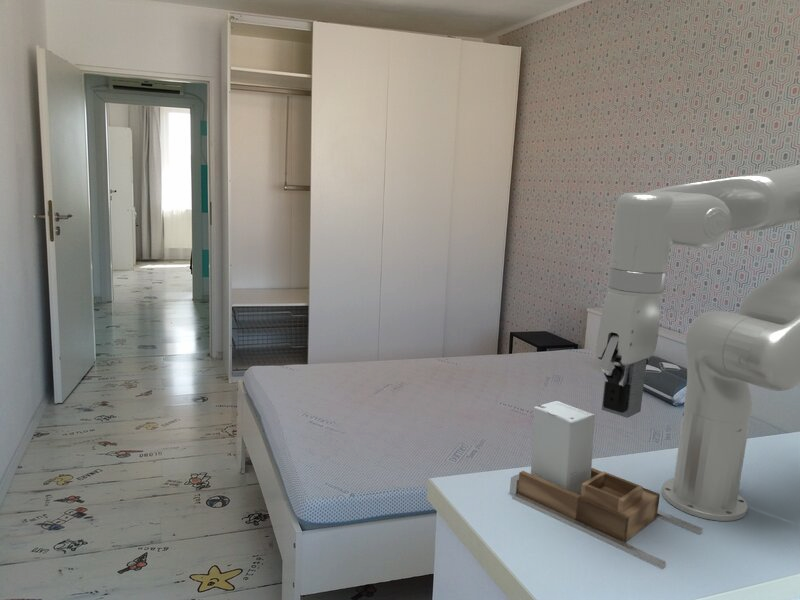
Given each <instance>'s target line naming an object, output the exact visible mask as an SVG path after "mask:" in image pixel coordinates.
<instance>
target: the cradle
mask: <svg viewBox="0 0 800 600" xmlns="http://www.w3.org/2000/svg"><path fill="white" fill-rule="evenodd" d="M518 474H519V483H518V494H520V495H522V496H524V497H526V498H529V499H531V500H533V501H535V502H537V503H539V504H542V505H544V506H546V507H548V508H550V509H553V510H555V511H557V512H559V513H561V514H563V515H566V516H568V517H570V518H572V519H574V520H576V521H579V522H581V523H583V524H585V525H587V526H589V527H592V528H594V529H596V530H598V531H600V532H602V533H605V534H607V535H609V536H611V537H613V538H615V539H618V540H620V541H622V542H624V543H626V542H628V541H629V540H630V539H632V538H633V537H635V535H637V534H638V533H639V532H641V531H642V530H643V529H644V528H646V527H647V526H648V525H650V524H651V523H652V522H654V521H655V520H657V518H658V517H657V512H658V510H659V504H660V503H659V502H660V496H661V494H660V493H658V492H655V491H653V490H651V489H647V488H645V487H644V486H642V485H639V484H637V483H635V482H632V481H630V480H628V479H627V480H626V479H624V478H622V477H620V476H617V475H614V474H611V473H609V472H606V471H601V470H598V469H596V468H594V467H591V479H589V480H588V481H586V482H584V483H582V487H581V495H579V494H576V493H574V492H572V491H569V490H567V489H565V488H562V487H560V486H558V485H555V484H553V483H551V482H548V481H546V480H544V479H541V478H539V477H537V476H534V475H532V474H531V472H527V471H526V470H525V471H524V470H521V471H519V472H518Z"/></svg>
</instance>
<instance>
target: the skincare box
mask: <svg viewBox="0 0 800 600" xmlns="http://www.w3.org/2000/svg"><path fill="white" fill-rule="evenodd" d="M532 416H533V418H532V436H531V437H532V438H531V459H530V460H531V462H530V474H532V475H534V476H537V477H539V478H541V479H544V480H546V481H548V482H551V483H553V484H555V485H558V486H560V487H562V488H565V489H567V490H569V491H572V492H574V493H576V494H579V495H581V487H582V483H584V482H586V481H588V480H589V479H591V468H593V466H592V462H593V448H594V447H593V446H594V432H595V431H594V428H595V416H596V415H595V413H591V412H589V411H585V410H583V409H580V408H577V407H574V406H572V405H570V404H567V403H563V401H562V402H561V401H559V400H555V401H551V402H547V403H544V404H541V405H537V406H534V407H533V414H532Z"/></svg>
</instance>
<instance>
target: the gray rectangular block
mask: <svg viewBox="0 0 800 600" xmlns="http://www.w3.org/2000/svg"><path fill="white" fill-rule="evenodd" d="M620 360H621V358H618V357H616V359H615V361H619V362H620ZM646 361H647V359H643V360H641V361H638V362H635V363H633V364H630V366H629V371H628V376H627V381H626V385H628V386H629V387H628V395H627V404H626V411H625V412H623V413H620V412H617V411H614V410H611V409H608V408H605V407H604V406H603V402H604V393H605V384H606V382H605V381H604V383H603V384H604V386H603V394H602V395H603V396H602V404H601V411H604V412H607V413H611V414H614V415H617V416H620V417H623V418H630V417H632V416H634V415H636V414H638V413H641V408H642V401H643V394H644V385H645V377H646V375H645V370H646V371H647V365H646ZM615 368H616V369H618V370H619V372H620V374H621V370H622V367H618V366H615Z"/></svg>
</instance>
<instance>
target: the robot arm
mask: <svg viewBox="0 0 800 600" xmlns="http://www.w3.org/2000/svg"><path fill="white" fill-rule="evenodd" d="M613 222H614V224H613V233H612V243H611V251H610V252H611V253H610V261H609V269H608V278H607V287H606V288H607V289H606V290H607V292H606V295H605V298H604V302H603V306H602V309H601V315H600V319H599V325H598V330H597V339H596V345H595V351H594V352H595V357H596V359H598V360H601V361H600V364H599V368H600V369H599V370H601V372H603V374H604V384H605V382H606V384H605V393H604V392H603V393H604V402H603V401H602V402H603V406H604V407H605V408H608V409H611V410H614V411H617V412H620V413H623V412H625V411H626V404H627V395H628V387H629V386H628V385H626V381H627V376H628V371H629V366H630V364H633V363H635V362H638V361H641V360H643V359H647V361H646V366H647V365H648V363H649V359H650V358H651V357H652V356H653V355H654V354H655V353H656V349H657V344H658V338H659V331H660V330H659V328H660V320H661V319H660V314H661V297H663V296H665V291H666V290H665V289H666V281H667V272H668V265H669V257H670V251H671V250H670V249H671V248H670V247H671V246H677V247H685V248H693V249H705V248H708V247H712V246H714V245H716V244H718V243H720V242H721V241H722V240H723V239H724V238H725V237H726V236H727V235H728V232H758V231H765V230H768V229H771V228H776V227H780V226H783V225H787V224H791V223H795V222H798V225H797V228H796V229H797V230H796V233H795V234H796V236H795V241H794V242H795V243H794V247H793V253H792V258H791V261H790V262H789V263H788V265H786V266H785V267H784V268H783V269H781V270H779V271H778V272H776V273H775V274H774V275H772V276H770V277H769V278H768V279H766V280H765V281H764V282H762V283H761V284H759V285H758V286H756V287H755V288H754V289H752V290H751V291H750V292H748V294H747V295H746V296H745V297H744V298H743V300H742V301H741V303H740V305H739V308H738V313H736V312H734V311H733V312H732V311H726V310H710V311H707V312H703V313H701V314H699V315H698V316H697V317H695V319H693V321H692V322H691V323H690V325H689V326H688V329H687V332H686V335H685V353H686V354H685V355H686V368H687V369H686V370H687V371H686V372H687V373H686V376H687V377H686V378H687V379H686V389H685V396H684V402H683V403H684V405H683V411H682V417H681V418H682V419H681V426H680V433H679V440H678V441H679V442H678V446H677V456H676V463H675V468H674V469H675V470H674V476H673V478H671V479H668V480H667V481H664V483H663V485H662V488H661V489H662V490H661V493H662V497H663V498H664V499H665V500H666V502H668V503H669V504H670V505H671V506H673V507H674V508H675V509H678V510H680V511H682V512H683V513H686V514H688V515H691V516H695V517H697V518H700V519H701V518H702V519H704V520H710V521H719V522H732V521H737V520H739V519H742V518H743V517H745V516H746V515H747V512H748V502H747V500H745V498H744V497H743V496H741V494H739V491H740V484H741V477H742V471H743V466H744V459H745V452H746V447H747V446H746V445H747V442H748V434H749V428H750V422H751V417H752V416H751V415H752V411H753V410H752V409H753V402H752V400H753V399H752V393H751V391H750V386H749V384H751V385H753V386H755V387H756V386H757V387H758V388H762V389H766V390H769V391H775V392H784V391H789V390H791V389H793V388H795V387H797V386H798V385H800V164H796V165H792V166H787V167H783V168H778V169H774V170H773V169H772V170H769V171H764V172H758V173H753V174H747V175H738V176H733V177H725V178H719V179H714V180H707V181H705V180H704V181H697V182H690V183H685V184H683V183H682V184H676V185H671V186H668V187H662V188H657V189H653V190H649V191H647V192H625V193H622V194H621V195H620V196H619V197H618V199H617V200H616V206H615V214H614V221H613ZM616 357H618V358H621V360H620V362H619V361H615V359H616ZM615 366H618V367H622V370H621V374H620V372H619V370H618V369H616V368H615ZM646 374H647V369H646V370H645V376H646Z"/></svg>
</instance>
